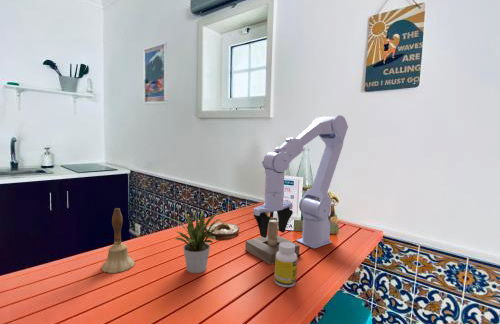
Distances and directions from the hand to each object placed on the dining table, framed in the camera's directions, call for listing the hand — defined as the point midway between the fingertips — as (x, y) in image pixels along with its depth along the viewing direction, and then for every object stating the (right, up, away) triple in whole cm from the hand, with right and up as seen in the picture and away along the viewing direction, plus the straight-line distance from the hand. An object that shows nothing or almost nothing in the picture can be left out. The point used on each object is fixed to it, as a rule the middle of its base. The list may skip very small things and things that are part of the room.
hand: (272, 234), depth 87 cm
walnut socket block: (0, -6, +1) cm, 6 cm away
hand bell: (-43, -6, -11) cm, 45 cm away
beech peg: (0, -6, +1) cm, 6 cm away
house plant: (-20, -7, -11) cm, 24 cm away
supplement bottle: (+2, -8, -17) cm, 19 cm away
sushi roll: (-17, -5, +16) cm, 24 cm away
